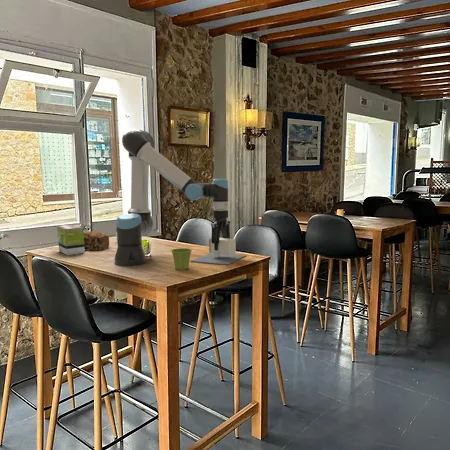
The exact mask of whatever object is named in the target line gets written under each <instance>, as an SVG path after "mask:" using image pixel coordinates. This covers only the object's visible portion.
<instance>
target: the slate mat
mask: <svg viewBox="0 0 450 450" xmlns="http://www.w3.org/2000/svg"><path fill="white" fill-rule="evenodd" d="M245 255H246V254H240V253H234V254H231V255H224V254H220V257H215V253H206V254H204V255H202V256H199V257H196V258H194V259H191V260H190V263H197V264H198V263H199V264H209V265H220V266H221V265H222V266H230V265H231V263H232V264H233V262H234V263H236V262H238V261H239V260H241V259H243V258H245V257H246V256H245ZM244 256H245V257H244ZM242 257H243V258H242ZM240 258H241V259H240ZM238 259H239V260H238ZM235 261H236V262H235ZM229 264H230V265H229Z"/></svg>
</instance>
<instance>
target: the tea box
mask: <svg viewBox="0 0 450 450" xmlns="http://www.w3.org/2000/svg"><path fill="white" fill-rule="evenodd" d="M56 230H57V239H58V240H57V242H58V251H59V252H60V251H61V253H63V254H64V255H65V254H66V255H65V256H67V255H68V256H71V255H70V254H76V255H79V254H78V253H83V254H85V251H86V250H84V234H83V232H84V227H82V226H81V225H76V224H65V225H57V229H56Z"/></svg>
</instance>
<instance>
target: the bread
mask: <svg viewBox="0 0 450 450" xmlns="http://www.w3.org/2000/svg"><path fill="white" fill-rule="evenodd" d="M83 234H84V249H92V250H91V251H103V250H105V248H106V249H108V247H109V248H110V237H109V236H108V235H107V234H106V233H103V232H98V231H83ZM102 249H103V250H102Z"/></svg>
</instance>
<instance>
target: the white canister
mask: <svg viewBox="0 0 450 450" xmlns="http://www.w3.org/2000/svg"><path fill="white" fill-rule="evenodd" d="M236 241H237V240H236V238H230V239H228V238H222V237H220V239H219V244H220V254H225V255H231V254H237V252H236V251H237V248H236V245H237V244H236ZM208 248H209V249H208V250H209V251H208V252H209V253H215V250H214V244H213V243H211V238H209V239H208Z"/></svg>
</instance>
